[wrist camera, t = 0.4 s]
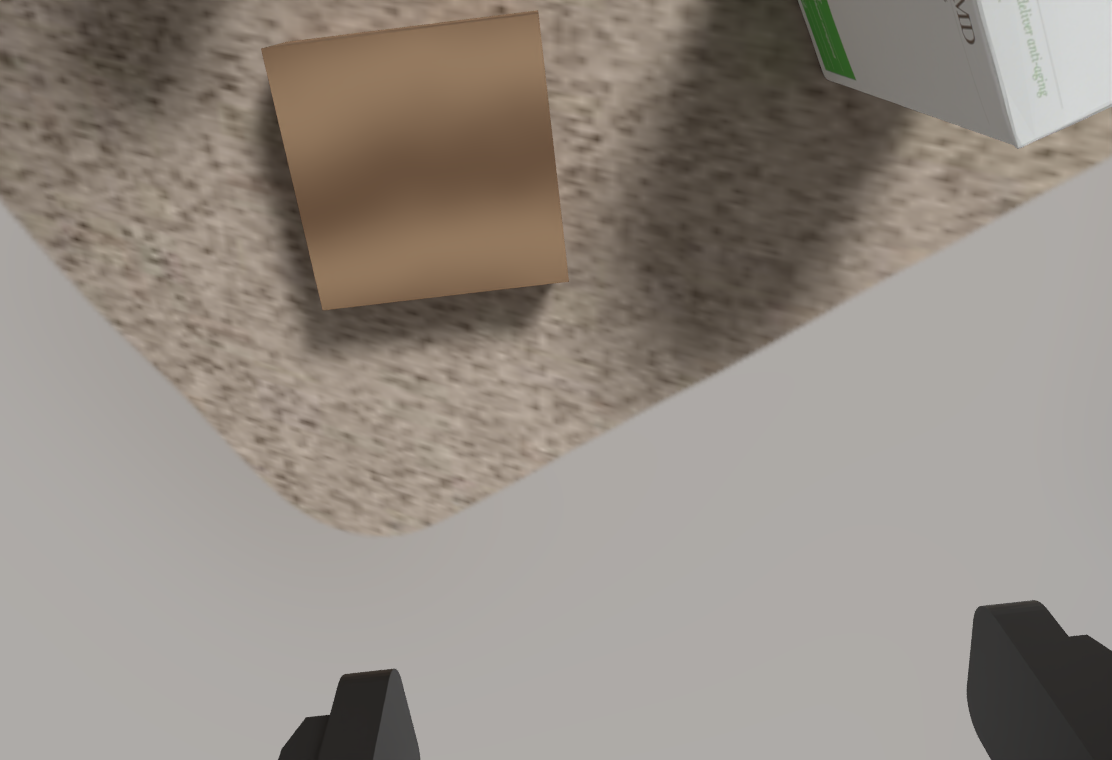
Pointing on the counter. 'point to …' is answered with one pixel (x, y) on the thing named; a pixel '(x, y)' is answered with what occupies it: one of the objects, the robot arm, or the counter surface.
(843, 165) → the counter surface
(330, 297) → the walnut block
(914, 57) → the skincare box
